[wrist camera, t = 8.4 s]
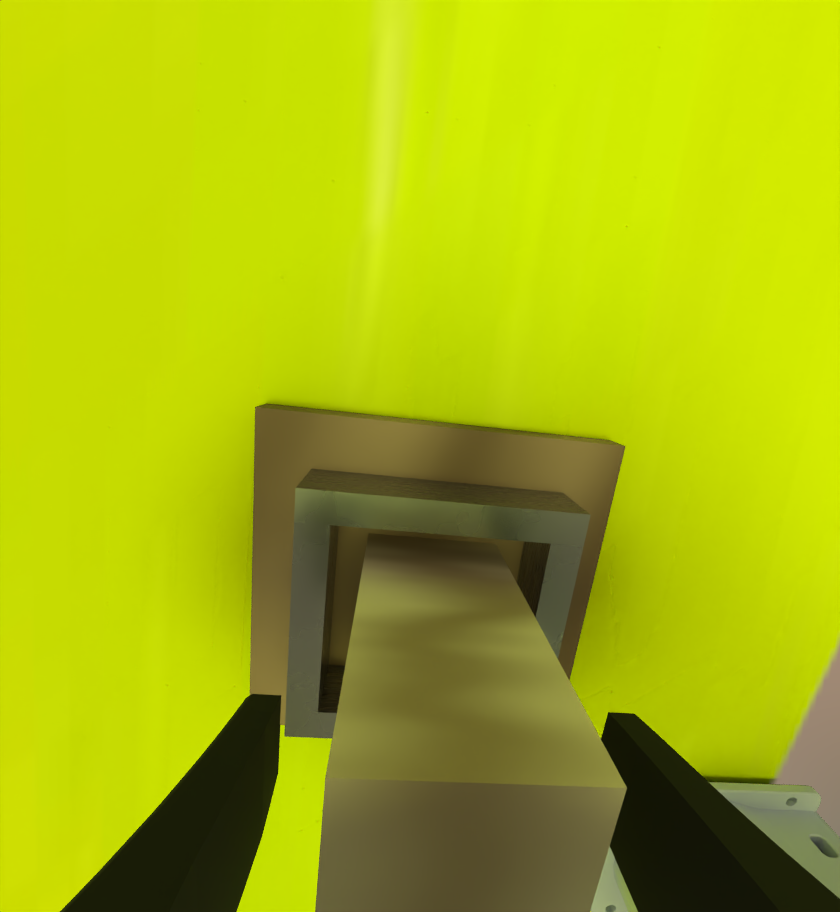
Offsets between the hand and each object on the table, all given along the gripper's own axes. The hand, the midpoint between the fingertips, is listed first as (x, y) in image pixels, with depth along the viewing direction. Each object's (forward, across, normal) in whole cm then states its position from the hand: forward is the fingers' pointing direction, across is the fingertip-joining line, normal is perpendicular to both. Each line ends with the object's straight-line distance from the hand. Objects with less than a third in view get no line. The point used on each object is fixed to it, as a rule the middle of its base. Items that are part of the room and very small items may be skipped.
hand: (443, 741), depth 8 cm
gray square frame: (+6, 0, 0) cm, 7 cm away
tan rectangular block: (+6, 0, 0) cm, 6 cm away
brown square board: (+6, 0, 0) cm, 7 cm away
